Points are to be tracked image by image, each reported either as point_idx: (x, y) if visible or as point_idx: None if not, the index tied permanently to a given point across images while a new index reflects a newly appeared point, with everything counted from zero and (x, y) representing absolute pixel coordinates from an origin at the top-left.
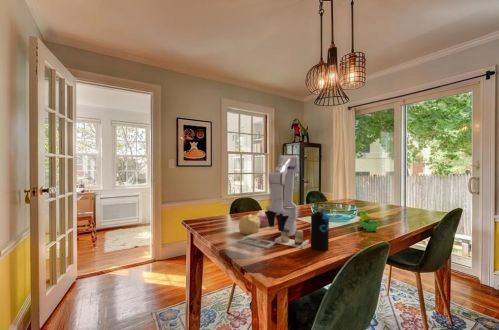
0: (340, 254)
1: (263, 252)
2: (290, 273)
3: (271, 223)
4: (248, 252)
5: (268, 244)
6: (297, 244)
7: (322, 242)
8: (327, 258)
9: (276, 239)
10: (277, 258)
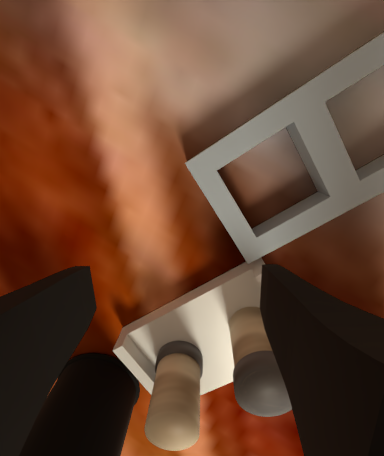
0: None
1: (189, 132)
2: None
3: (270, 303)
4: (231, 29)
5: (231, 198)
6: (166, 346)
7: None
8: None
9: None
10: (79, 162)
